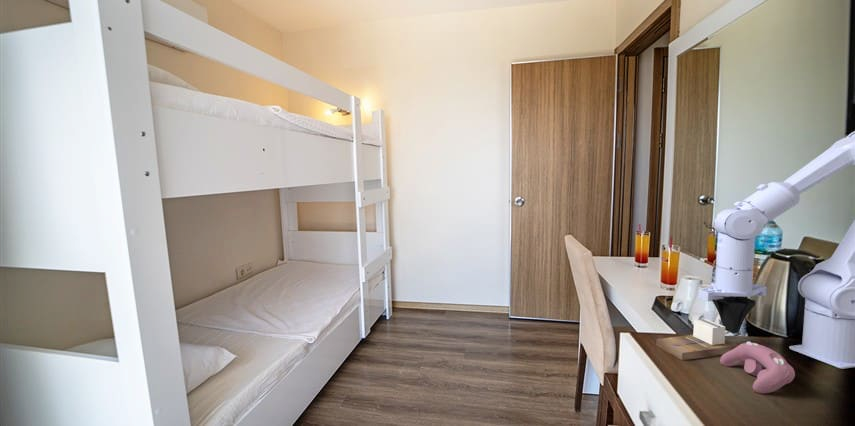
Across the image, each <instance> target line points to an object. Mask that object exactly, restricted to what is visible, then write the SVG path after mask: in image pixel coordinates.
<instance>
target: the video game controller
mask: <svg viewBox="0 0 855 426" xmlns="http://www.w3.org/2000/svg"><path fill="white" fill-rule="evenodd" d="M719 362H720V364H721V365H722V366H724V367H735V366H738V365H741V364H744V366H743V369H744V371H745V372H746V373H748V374H749V375H752V376H754V377H757V378H756V380H755V381H754V382H753V383H752V389H753V390H754V392H756V393H758V394H769V393H773V392H775V391H777V390H780V389H781V388H782V387H783V386H785V385H787V384H790V383H791V382H793V380H794V379H795V377H796V372H795V369H794V368H793V366H792V365H790V364H789V363H788V362H787V360H786V359H785V358H784V357H783V355H781V354H780V353H778V352H777V351H775V350H773V349H772V348H770V347H767V346H765V345H762V344H758V343H756V342H751V341H747V342H744V343H741V344H739V345H738V346H737V347H736V348H734V349H733V350H731V351H728V352H727V353H725V354H723V355H720V358H719ZM763 367H764V368H765V369H763Z"/></svg>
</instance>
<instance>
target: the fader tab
mask: <svg viewBox="0 0 855 426" xmlns="http://www.w3.org/2000/svg"><path fill="white" fill-rule="evenodd" d="M692 335H693V336H694V337H696V338H698V339H700V340H702V341H704V342H707V343H709V344H711V345H716V344H724V343H725V340H726V330H725V326H722V324H720V323H716V322H714V321H712V320H710V319H707V318H705V319H704V318H699V319H695V320H693V333H692Z"/></svg>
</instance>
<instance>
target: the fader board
mask: <svg viewBox="0 0 855 426" xmlns="http://www.w3.org/2000/svg"><path fill="white" fill-rule="evenodd" d="M655 342H656V345H655V346H656V347H657V346H658V347H657V348H659V349H661V350H663V351H664V352H666V353H668V354H670V355H672V356H674V357H675V358H677V359H679V360H680V361H686V360H695V359H702V358H709V357H717V356H722V355H723V354H725V353H727V352H728V351H731V350H733V349H734V348H736V347H737V346H739V345H737V344H736V343H733V342H731V341H729V340H726V339H725V343H724V344H716V345H711V344H709V343H707V342H704V341H702V340H700V339H698V338H696V337H694V336H693V334H688V335H680V336H671V337H664V338H656V341H655Z"/></svg>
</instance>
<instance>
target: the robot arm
mask: <svg viewBox="0 0 855 426" xmlns="http://www.w3.org/2000/svg"><path fill="white" fill-rule="evenodd" d="M851 166H855V130H854V131H852V132H851V133H849V134H848V135H847V136H846V137H843V138H841V139H839V140H836V142H834V143H833V144H832V145H831V146H830V147H829V148H828V149H826V150H825V151H823V152H822V153H821V154H819V155H817V157H815V158H814V159H812V160H811V161H809V163H806V165H804V166H803V167H801V168H800V169H799V170H797V171H796V172H794V173H793V174H792V175H791V176H789V177H788V178H786V179H785V180H784V181H781V182H779V181H771V182H768V183H767V184H765V183H761V184H759V185H758V186H756V187H755V188H756V189H755V190H756V191H755V192H753V193H752V194H751V195H749V196H748V197H746V198H745V199H743V200H742V201H735V202H734V203H733V207H734V208H728V209H723V210H722V211H720V212H719V213H717V215H716V218H714V220H713V221H712V227H713V228H714V230H715V231H716V232H717V242H716V243H717V244H716V260H715V261H716V263H715V264H716V265H715V280H714V281H715V282H711V283H710V286H708V287H705V288H702V289H701V288H700V289H699V290H698V299H700V300H702V301H705V302H712V303H713V304H714V306H715V308H716V310H717V312H718V315H719V317H720V318H719V319H720V321H721V325H722V326H725V332H728V333H731V334H738V333H740V330H741V327H742V325H743V323H744V320H745V319H746V317H747V315H748V314H749V313H750V311H751V310H752V309H753V308H754V307H756V300H754V299H751V298H748V297H754V296H760V297H766V296H767V293H768V290H767V289H768V287H767V286H765V285H760V284H753V281H754V280H753V279H754V265H755V264H754V262H755V249H756V247H755V246H756V245H755V244H756V243H755V242H756V237H758V236H760V234H761V233H762V232H763V230H764V227H765V225H767V224H768V223H770V222H771V221H773V220H774V219H776V218H778V217H780V216H781V215H783V214H784V213H786V212H788V211H790V209H792V208H794V207H795V206H797V205H798V204H799V203H800V197H801V194H802V193H804V192H806V191H808V190H809V189H811V188H814V187H815V186H816V185H818V184H820V183H822V182H823V181H825V180H827V179H829V178H830V177H833V176H834V175H835V174H837V173H839V172H840V171H842V170H844V169H845V168H848V167H851ZM797 290H798V293H799V295H801V296H802V297H803V298H804V299H805V300H804V313H803V314H804V316H803V329H802V330H803V331H802V342H801V344H796V345H789V349H790V350H792V351H794V352H798V353H799V354H802V355H805V356H807V357H810V358H812V359H815V360H817V361H820V362H823V363H824V364H828V365H830V366H834V367H835V368H837V369H843V370H844V369H850V368H855V219H854V220H853V222H852V223H851V225H850V226H849V228H848V230H847V231H846V233H845V234H844V236H843V237H842V239H841V241H840V242H839V243H838V246H837V247H836V249H835V250H834V252H833V254H832V255H831V257H830V258H828V259H825V260H823V261H821V262H818V263H817V264H816V265H815V266H814V268H813V269H812V270H811V271H809V273H806V274H805V275H803V276H802V277H801V278H800V279H799V281H798V283H797Z"/></svg>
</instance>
